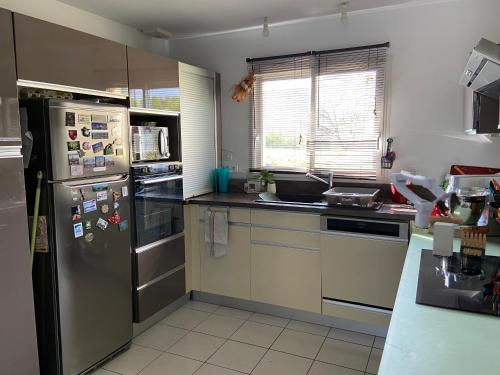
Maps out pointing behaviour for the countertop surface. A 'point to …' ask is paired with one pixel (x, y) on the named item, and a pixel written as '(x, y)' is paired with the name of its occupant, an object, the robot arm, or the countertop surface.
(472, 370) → the countertop surface
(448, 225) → the skincare box
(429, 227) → the storage box
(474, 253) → the ammunition clip
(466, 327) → the countertop surface
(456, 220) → the lid
